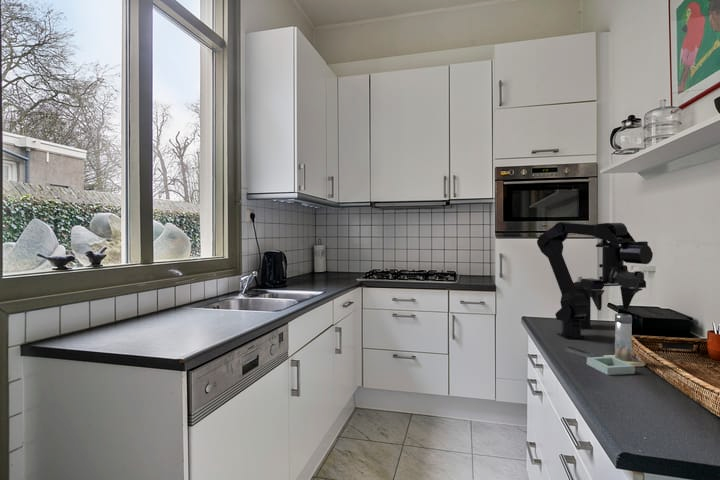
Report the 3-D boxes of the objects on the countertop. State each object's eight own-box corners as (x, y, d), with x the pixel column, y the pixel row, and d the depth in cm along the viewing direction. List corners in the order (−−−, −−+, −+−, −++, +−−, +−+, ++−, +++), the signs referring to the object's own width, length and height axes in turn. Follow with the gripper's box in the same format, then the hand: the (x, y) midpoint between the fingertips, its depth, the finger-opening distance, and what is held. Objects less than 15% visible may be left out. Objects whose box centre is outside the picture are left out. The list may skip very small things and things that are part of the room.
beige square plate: (603, 358, 113) (603, 355, 113) (625, 357, 114) (625, 354, 114) (621, 367, 106) (621, 363, 106) (644, 366, 107) (644, 362, 107)
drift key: (565, 351, 121) (565, 347, 121) (569, 350, 122) (569, 346, 121) (590, 358, 114) (590, 355, 113) (593, 357, 114) (594, 354, 114)
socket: (586, 364, 109) (586, 357, 109) (612, 362, 110) (612, 356, 110) (607, 375, 101) (607, 367, 101) (634, 373, 102) (634, 366, 102)
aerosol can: (594, 329, 145) (595, 278, 144) (571, 329, 146) (571, 277, 146) (586, 324, 153) (586, 275, 152) (564, 323, 154) (564, 275, 154)
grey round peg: (611, 357, 112) (611, 314, 111) (621, 355, 113) (621, 312, 113) (624, 362, 108) (625, 317, 107) (635, 360, 109) (635, 315, 109)
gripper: (604, 264, 112) (604, 316, 112) (661, 263, 114) (661, 314, 114) (579, 261, 123) (579, 308, 124) (631, 260, 125) (631, 306, 125)
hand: (612, 309), depth 121 cm, fingers open, 9 cm apart
